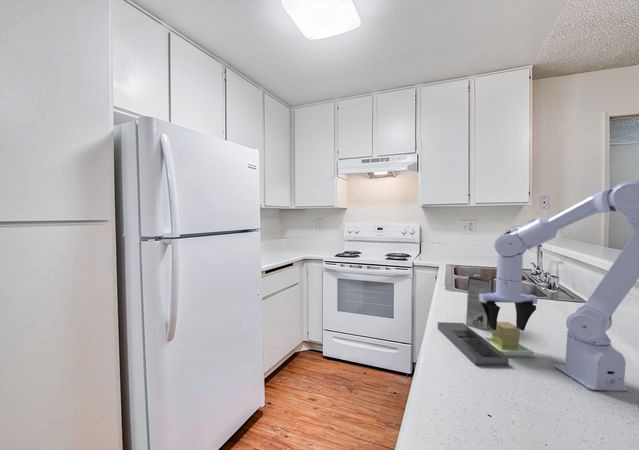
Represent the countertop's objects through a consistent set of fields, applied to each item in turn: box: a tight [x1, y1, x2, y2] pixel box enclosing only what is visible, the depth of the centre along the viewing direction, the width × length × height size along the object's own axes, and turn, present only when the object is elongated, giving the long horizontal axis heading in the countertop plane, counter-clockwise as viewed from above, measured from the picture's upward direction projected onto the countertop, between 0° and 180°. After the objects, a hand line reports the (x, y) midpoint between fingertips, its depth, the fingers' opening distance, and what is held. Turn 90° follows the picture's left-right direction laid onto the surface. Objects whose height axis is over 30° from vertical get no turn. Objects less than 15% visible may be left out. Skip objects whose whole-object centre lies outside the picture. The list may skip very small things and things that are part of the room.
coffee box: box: [465, 272, 495, 331], centre depth 97 cm, size 9×6×16 cm
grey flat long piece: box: [437, 321, 510, 367], centre depth 81 cm, size 22×8×2 cm, turn 1°
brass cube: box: [491, 321, 521, 350], centre depth 79 cm, size 4×4×6 cm
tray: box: [480, 335, 535, 358], centre depth 79 cm, size 9×9×1 cm
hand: (506, 328), depth 79 cm, fingers open, 7 cm apart
